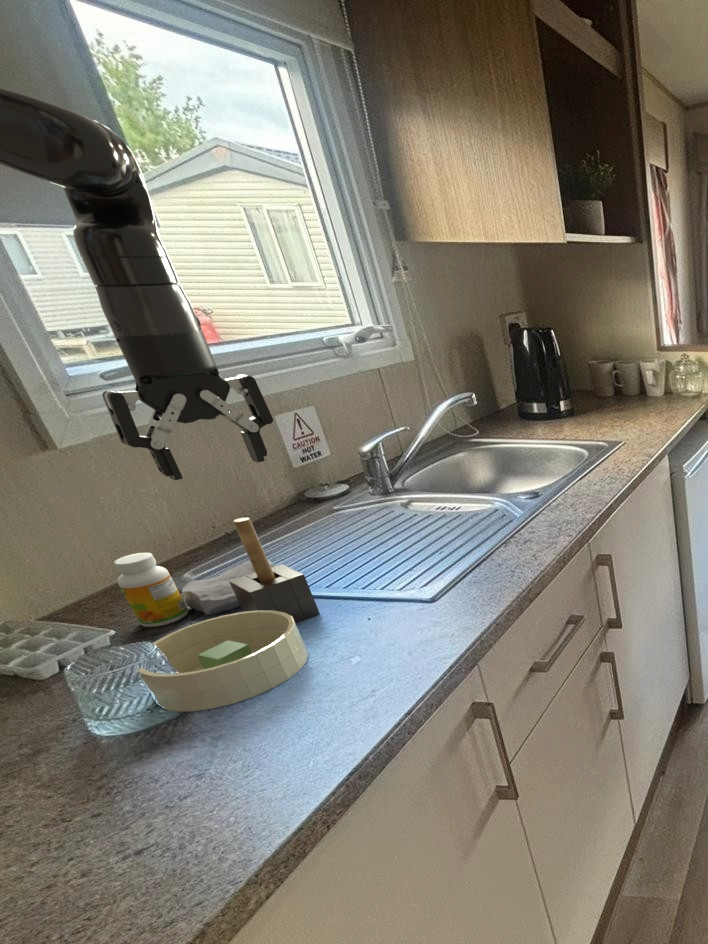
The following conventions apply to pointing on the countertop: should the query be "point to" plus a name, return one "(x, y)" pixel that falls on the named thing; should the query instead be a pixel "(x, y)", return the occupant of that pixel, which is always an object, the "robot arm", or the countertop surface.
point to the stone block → (216, 590)
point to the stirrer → (254, 549)
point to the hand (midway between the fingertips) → (219, 469)
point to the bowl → (226, 684)
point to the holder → (277, 593)
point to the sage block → (224, 654)
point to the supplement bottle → (149, 590)
